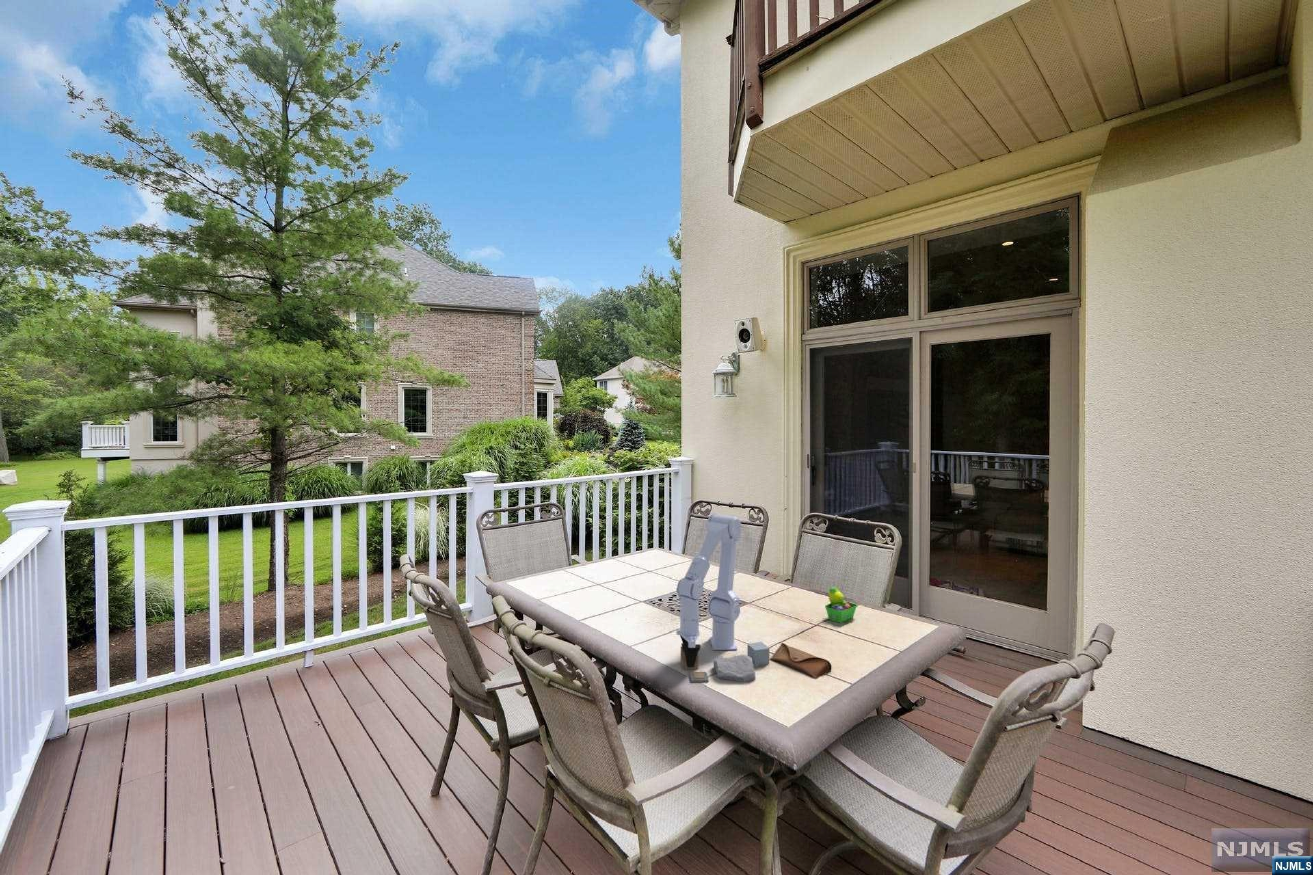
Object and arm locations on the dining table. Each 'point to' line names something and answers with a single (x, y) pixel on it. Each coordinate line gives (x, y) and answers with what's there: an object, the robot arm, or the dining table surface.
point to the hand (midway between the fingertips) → (689, 660)
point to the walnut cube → (683, 661)
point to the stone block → (735, 668)
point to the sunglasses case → (801, 661)
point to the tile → (699, 677)
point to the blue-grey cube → (758, 653)
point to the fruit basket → (839, 607)
